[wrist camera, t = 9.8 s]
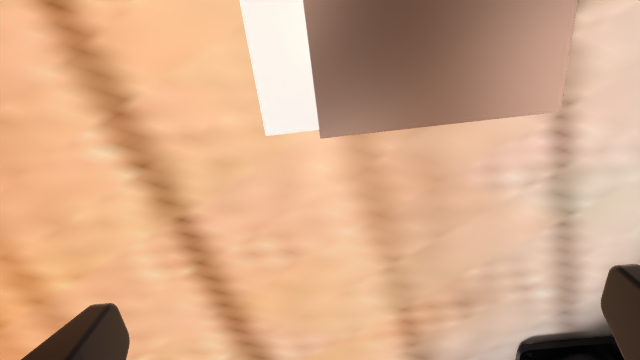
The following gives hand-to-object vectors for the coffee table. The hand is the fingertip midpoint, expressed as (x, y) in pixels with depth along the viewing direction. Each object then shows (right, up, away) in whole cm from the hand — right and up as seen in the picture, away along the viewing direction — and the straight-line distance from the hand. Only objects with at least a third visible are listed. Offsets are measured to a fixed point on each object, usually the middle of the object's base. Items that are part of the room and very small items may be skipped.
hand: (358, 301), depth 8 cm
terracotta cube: (+1, +8, +4) cm, 9 cm away
